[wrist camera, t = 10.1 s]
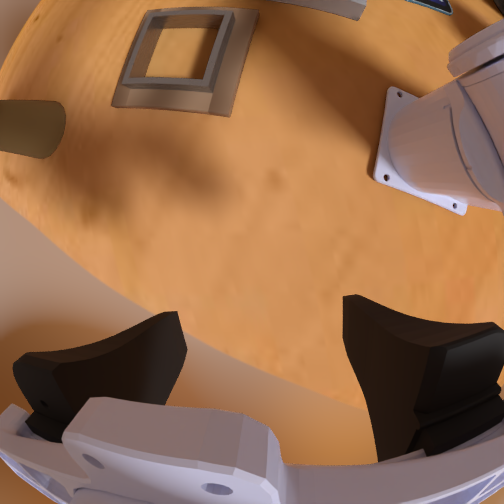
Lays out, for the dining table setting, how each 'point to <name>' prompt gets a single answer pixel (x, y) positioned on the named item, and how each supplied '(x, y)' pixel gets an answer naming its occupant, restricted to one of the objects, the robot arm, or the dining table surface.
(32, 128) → the olive pepper mill
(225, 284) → the dining table surface
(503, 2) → the pitcher
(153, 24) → the collar stand
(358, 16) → the tray
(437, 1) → the smartphone
